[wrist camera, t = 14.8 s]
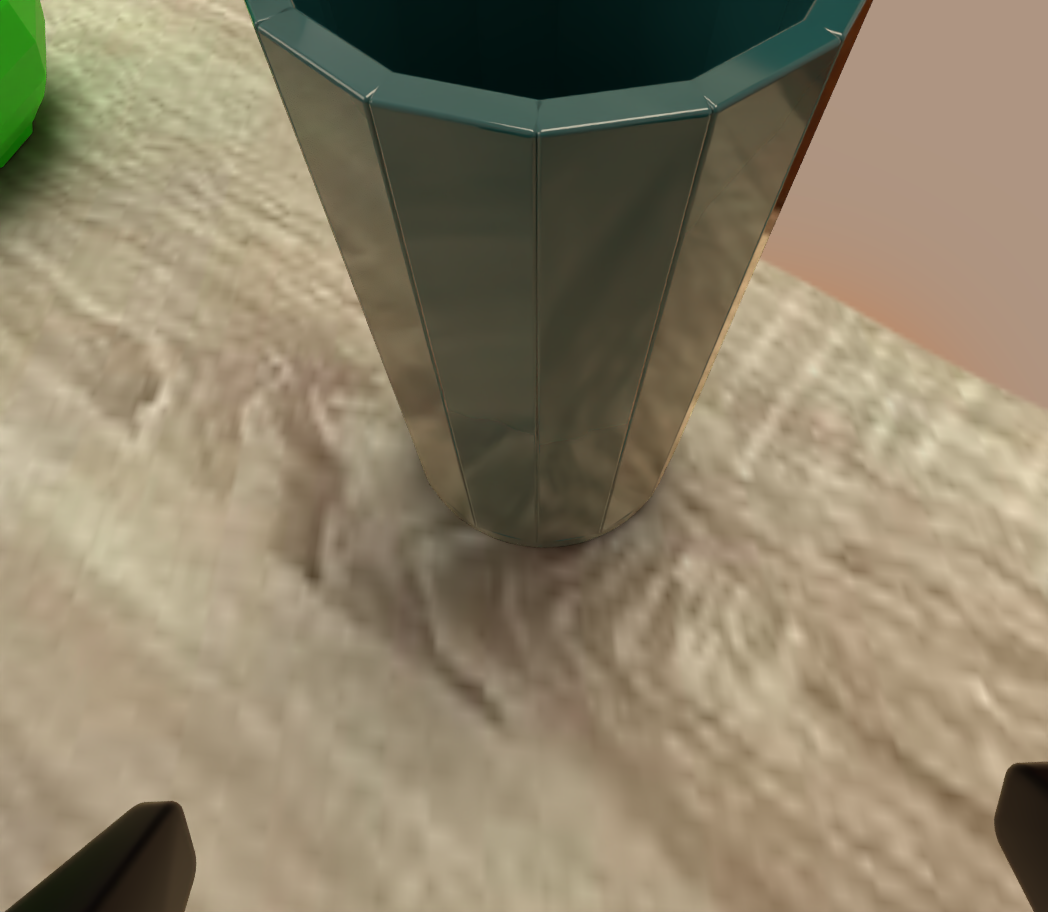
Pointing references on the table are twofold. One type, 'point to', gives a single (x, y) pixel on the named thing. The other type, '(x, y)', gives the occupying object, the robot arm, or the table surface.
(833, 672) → the table surface
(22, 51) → the plastic bottle
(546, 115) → the teal and beige cup
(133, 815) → the robot arm
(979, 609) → the table surface
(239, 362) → the table surface
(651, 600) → the table surface
